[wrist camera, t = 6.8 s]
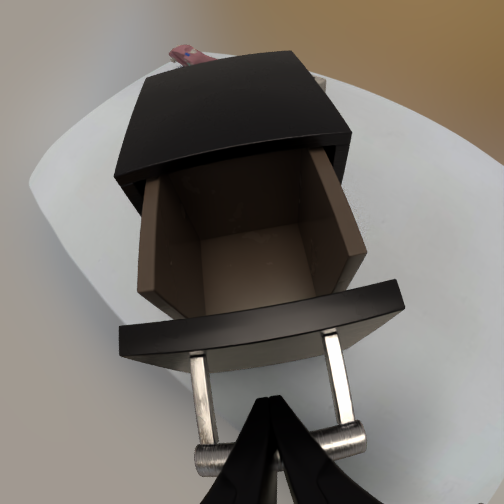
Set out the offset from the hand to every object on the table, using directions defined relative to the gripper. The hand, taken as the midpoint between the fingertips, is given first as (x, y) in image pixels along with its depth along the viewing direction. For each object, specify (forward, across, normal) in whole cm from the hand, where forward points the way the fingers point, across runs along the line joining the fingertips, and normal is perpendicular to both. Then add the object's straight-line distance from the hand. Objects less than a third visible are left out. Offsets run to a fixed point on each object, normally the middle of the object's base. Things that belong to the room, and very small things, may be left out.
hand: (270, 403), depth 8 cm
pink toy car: (+42, +4, -28) cm, 50 cm away
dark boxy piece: (+18, 0, -4) cm, 19 cm away
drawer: (+10, 0, +3) cm, 10 cm away
